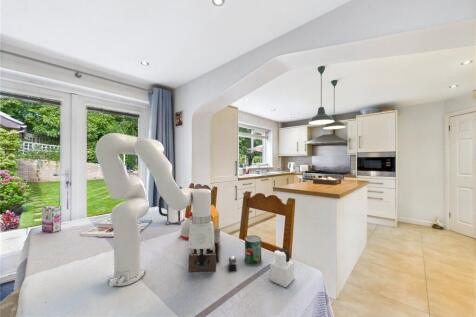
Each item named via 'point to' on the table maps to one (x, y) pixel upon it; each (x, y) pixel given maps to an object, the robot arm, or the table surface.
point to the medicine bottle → (282, 268)
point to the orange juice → (214, 217)
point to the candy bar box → (51, 218)
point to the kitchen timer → (186, 228)
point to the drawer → (208, 265)
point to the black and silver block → (232, 264)
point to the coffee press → (172, 213)
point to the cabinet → (216, 243)
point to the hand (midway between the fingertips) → (202, 263)
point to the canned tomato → (253, 250)
